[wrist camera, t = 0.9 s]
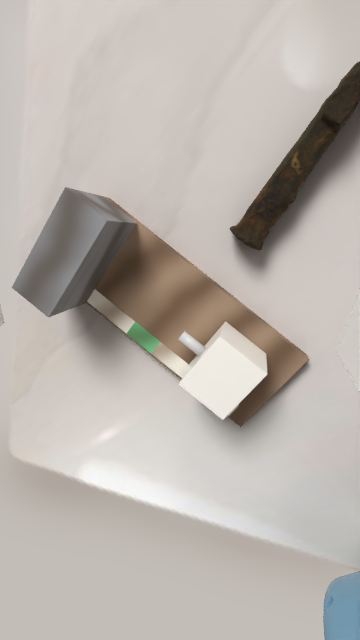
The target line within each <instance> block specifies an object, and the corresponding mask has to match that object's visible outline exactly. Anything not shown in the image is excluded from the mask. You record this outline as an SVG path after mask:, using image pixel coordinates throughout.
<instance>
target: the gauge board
mask: <svg viewBox="0 0 360 640" xmlns="http://www.w3.org/2000/svg"><path fill="white" fill-rule="evenodd" d="M12 288H13V289H14V290H15V291H17V292H18V293H19V294H20V295H22V296H23V297H24V298H25V299H27V300H28V301H29V302H30V303H32V304H33V305H34V306H35V307H36V308H38V309H39V310H40V311H41V312H43V313H44V314H45V315H46V316H48V317H51V316H53V315H56V314H58V313H61V312H63V311H66V310H68V309H71V308H74V307H76V306H79V305H81V304H84V303H86V302H87V303H88V304H89V305H90V306H91V307H93V308H94V309H95V310H96V311H98V312H99V313H100V314H101V315H103V316H104V317H105V318H106V319H108V320H109V321H110V322H111V323H113V324H114V325H115V326H116V327H118V328H119V329H120V330H121V331H122V332H124V333H125V334H126V335H127V336H129V337H130V338H131V339H132V340H134V341H135V342H136V343H137V344H139V345H140V346H141V347H142V348H144V349H145V350H146V351H147V352H149V353H150V354H151V355H152V356H153V357H155V358H156V359H157V360H158V361H160V362H161V363H162V364H163V365H165V366H166V367H167V368H168V369H170V370H171V371H172V372H173V373H175V374H176V375H177V376H178V377H180V378H181V379H182V377H183V375H184V373H185V371H186V369H187V368H188V366H189V364H190V362H191V361H192V360H193V359H194V358H195V357H196V355H197V354H196V353H194V352H193V351H192V350H191V349H189V348H188V347H187V346H186V345H184V344H183V343H182V342H181V341H179V340H178V339H179V337H180V336H181V335H182V334H183V332H184V331H186V332H187V333H188V334H189V335H191V336H192V337H193V338H194V339H196V340H197V341H198V342H199V343H201V344H202V345H203V346H205V345H206V344H207V342H208V341H209V340H210V339H211V338H212V337H213V335H214V334H215V333H216V332H217V331H218V329H219V328H220V327H221V326H222V325H223V324H224V322H225V321H226V322H227V323H228V324H230V325H231V326H232V327H233V328H235V329H236V330H237V331H238V332H240V333H241V334H242V335H243V336H245V337H246V338H247V339H248V340H250V341H251V342H252V343H254V344H255V345H256V346H257V347H259V348H260V349H261V350H262V351H264V352H265V353H266V358H267V375H266V376H265V377H264V378H263V380H262V381H261V382H260V383H259V384H258V385H257V386H256V387H255V388H254V389H253V390H252V391H251V392H250V393H249V394H248V395H247V396H246V397H245V398H244V399H243V400H242V401H241V402H240V403H239V404H238V405H237V406H236V407H235V408H234V409H233V410H232V411H231V412H230V413H229V414H228V415H227V416H228V417H229V418H230V419H232V420H233V421H234V422H235V423H237V424H238V425H239V426H240V427H241V426H242V425H243V424H244V423H245V422H246V421H247V420H248V419H249V418H250V417H251V416H252V415H253V414H254V413H255V412H256V411H257V410H258V409H259V408H260V407H261V406H262V405H263V404H264V403H265V402H266V401H267V400H268V399H269V398H270V397H271V396H272V395H273V394H274V393H275V392H276V391H277V390H278V389H279V388H280V387H281V386H282V385H283V384H285V383H286V382H287V381H288V380H289V379H290V378H291V377H292V376H293V375H294V374H295V373H296V372H297V371H298V370H299V369H300V368H301V367H302V366H303V365H304V364H305V363H306V362H307V361H308V360H309V359H308V356H307V355H306V354H305V353H304V352H303V351H301V350H300V349H299V348H298V347H296V346H295V345H294V344H292V343H291V342H290V341H289V340H287V339H286V338H285V337H284V336H282V335H281V334H280V333H279V332H277V331H276V330H275V329H274V328H272V327H271V326H270V325H269V324H267V323H266V322H265V321H264V320H262V319H261V318H260V317H258V316H257V315H256V314H255V313H253V312H252V311H251V310H250V309H248V308H247V307H246V306H245V305H243V304H242V303H241V302H240V301H238V300H237V299H236V298H235V297H233V296H232V295H231V294H230V293H228V292H227V291H226V290H224V289H223V288H222V287H221V286H219V285H218V284H217V283H216V282H214V281H213V280H212V279H211V278H209V277H208V276H207V275H206V274H204V273H203V272H202V271H201V270H199V269H198V268H197V267H196V266H194V265H193V264H192V263H190V262H189V261H188V260H187V259H185V258H184V257H183V256H182V255H180V254H179V253H178V252H177V251H175V250H174V249H173V248H172V247H170V246H169V245H168V244H167V243H165V242H164V241H163V240H162V239H160V238H159V237H158V236H156V235H155V234H154V233H153V232H151V231H150V230H149V229H148V228H146V227H145V226H144V225H143V224H141V223H140V222H139V221H138V220H136V219H135V218H134V217H133V216H131V215H130V214H129V213H128V212H126V211H125V210H124V209H122V208H121V207H120V206H119V205H117V204H116V203H115V202H114V201H112V200H111V199H110V198H107V197H103V196H99V195H95V194H91V193H87V192H82V191H78V190H74V189H70V188H66V187H65V189H64V191H63V193H62V194H61V196H60V198H59V200H58V202H57V204H56V206H55V208H54V209H53V211H52V213H51V215H50V217H49V219H48V221H47V223H46V224H45V226H44V228H43V230H42V232H41V234H40V236H39V238H38V239H37V241H36V243H35V245H34V247H33V249H32V251H31V253H30V254H29V256H28V258H27V260H26V262H25V264H24V266H23V268H22V269H21V271H20V273H19V275H18V277H17V279H16V281H15V283H14V284H13V286H12Z"/></svg>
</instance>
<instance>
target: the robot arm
mask: <svg viewBox="0 0 360 640" xmlns="http://www.w3.org/2000/svg"><path fill="white" fill-rule="evenodd" d="M3 323H4V320H3V315H2V311H1V306H0V326H1V325H2V324H3ZM336 353H337V355H338V357H339V358H340V360H341V362H342V363H343V365H344V367H345V368H346V370H347V372H348V373H349V375H350V377H351V378H352V380H353V382H354V383H355V385H356V386H357V388H358V390H359V391H360V290H359V293H358V295H357V298H356V301H355V303H354V306H353V309H352V311H351V314H350V317H349V320H348V322H347V325H346V328H345V330H344V333H343V336H342V338H341V341H340V344H339V346H338V349H337V352H336ZM323 617H324V635H325V640H360V571H359V572H356V573H353V574H349V575H346V576H342V577H339V578H337V579H335V580H334V581H332V583H331V584H330V585H329V587H328V589H327V592H326V595H325V600H324V616H323Z"/></svg>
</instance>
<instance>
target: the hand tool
mask: <svg viewBox="0 0 360 640" xmlns="http://www.w3.org/2000/svg"><path fill="white" fill-rule="evenodd" d="M359 101H360V62H358V63H356V64H355V65H354V66H353V68H352V69H351V70H350V71H349V72H348V73H347V75H346V76H345V77H344V78H343V79H342V80H341V82H340V84H339V86H338V87H337V88H336V90H335V91H334V92H333V93H332V94H331V95H330V96H329V97H328V98H327V99H326V100H325V102H324V103H323V104H322V106H321V108H320V110H319V112H318V113H317V115H316V116H315V117H314V118H313V120H312V121H311V123H310V124H309V125H308V127H307V128H306V130H305V131H304V132H303V134H302V135H301V137H300V138H299V140H298V141H297V142H296V143H295V145H294V146H293V148H292V149H291V150H290V151H289V153H288V154H287V155H286V157H285V158H284V159H283V161H282V162H281V164H280V165H279V167H278V168H277V169H276V171H275V172H274V174H273V175H272V177H271V178H270V179H269V181H268V182H267V183H266V185H265V186H264V187H263V189H262V190H261V191H260V193H259V195H258V196H257V198H256V199H255V200H254V201H253V203H252V204H251V206H250V207H249V208H248V210H247V212H246V213H245V215H244V216H243V218H242V219H241V221H240V222H239V224H237V225H236V226H232V227H230V230H231V232H232V233H233V234H234V235H235V236H236V237H237V238H238V239H239V240H241V241H242V242H243V243H244V244H246V245H248V246H250V247H251V248H254V249H257V250H261V249H262V246H263V240H264V238H265V237H266V236H267V235H268V233H269V229H270V228H271V227H272V226H273V225H274V223H275V222H276V221H277V220H278V219H279V217H280V216H281V215H282V213H283V212H284V211H285V210H286V209H287V208H288V206H289V205H290V204H291V203H293V202H294V200H295V198H296V194H297V191H298V189H299V188H300V186H301V185H302V183H303V182H304V181H305V179H306V178H307V176H308V175H309V173H310V172H311V170H312V169H313V167H314V166H315V164H316V163H317V162H318V160H319V159H320V158H321V156H322V155H323V153H324V152H325V150H326V149H327V147H328V146H329V145H330V143H331V142H332V141H333V140H334V138H335V137H336V135H337V134H338V132H339V131H340V129H341V128H342V127H343V125H344V124H345V122H346V121H347V120H348V118H349V117H350V115H351V114H352V112H353V111H354V109H355V108H356V106H357V104H358V103H359Z"/></svg>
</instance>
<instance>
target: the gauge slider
mask: <svg viewBox="0 0 360 640" xmlns="http://www.w3.org/2000/svg"><path fill="white" fill-rule="evenodd" d="M178 340H179V341H181V342H182V343H183V344H184V345H186V346H187V347H188V348H189V349H191V350H192V351H193V352H194V353H196V354H197V355H196V357H195V358H194V359H193V360H192V361H191V362H190V364H189V366H188V368H187V369H186V371H185V373H184V375H183V377H182V379H181V380H180V382H179V385H180V386H181V387H183V388H184V389H185V390H186V391H188V392H189V393H190V394H191V395H193V396H194V397H195V398H196V399H197V400H199V401H200V402H201V403H202V404H204V405H205V406H206V407H207V408H209V409H210V410H211V411H212V412H214V413H215V414H216V415H217V416H219V417H220V418H221V419H222V420H223V419H224V418H225V417H226V416H227V415H228V414H229V413H230V412H231V411H232V410H233V409H234V408H235V407H236V406H237V405H238V404H239V403H240V402H241V401H242V400H243V399H244V398H245V397H246V396H247V395H248V394H249V393H250V392H251V391H252V390H253V389H254V388H255V387H256V386H257V385H258V384H259V383H260V382H261V381H262V380H263V378H264V377H265V376H266V375H267V358H266V353H265V352H264V351H262V350H261V349H260V348H259V347H257V346H256V345H255V344H254V343H252V342H251V341H250V340H248V339H247V338H246V337H245V336H243V335H242V334H241V333H240V332H238V331H237V330H236V329H235V328H233V327H232V326H231V325H230V324H228V323H227V322H226V321H225V322H224V324H223V325H222V326H221V327H220V328H219V329H218V331H217V332H216V333H215V334H214V335H213V337H212V338H211V339H210V340H209V341H208V342H207V344H206V345H205V346H203V345H202V344H201V343H199V342H198V341H197V340H196V339H194V338H193V337H192V336H191V335H189V334H188V333H187V332H186V331H184V332H183V334H182V335H181V336H180V337H179V339H178Z"/></svg>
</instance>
